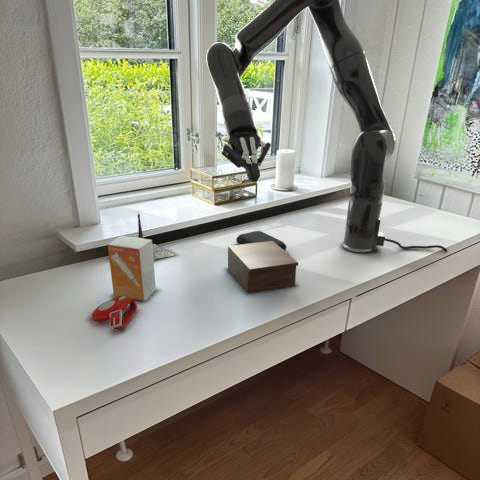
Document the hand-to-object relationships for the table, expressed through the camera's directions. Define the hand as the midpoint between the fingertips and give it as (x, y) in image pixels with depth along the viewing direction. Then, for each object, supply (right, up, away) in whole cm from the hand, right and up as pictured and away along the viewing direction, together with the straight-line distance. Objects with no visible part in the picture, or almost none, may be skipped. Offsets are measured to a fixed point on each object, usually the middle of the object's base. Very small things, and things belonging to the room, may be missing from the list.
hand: (255, 180), depth 113 cm
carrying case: (+2, -13, +25) cm, 28 cm away
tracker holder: (-31, -34, -13) cm, 48 cm away
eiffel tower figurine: (-31, -16, +18) cm, 39 cm away
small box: (-29, -28, -2) cm, 40 cm away
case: (+2, -23, +7) cm, 24 cm away
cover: (+2, -18, +4) cm, 19 cm away
